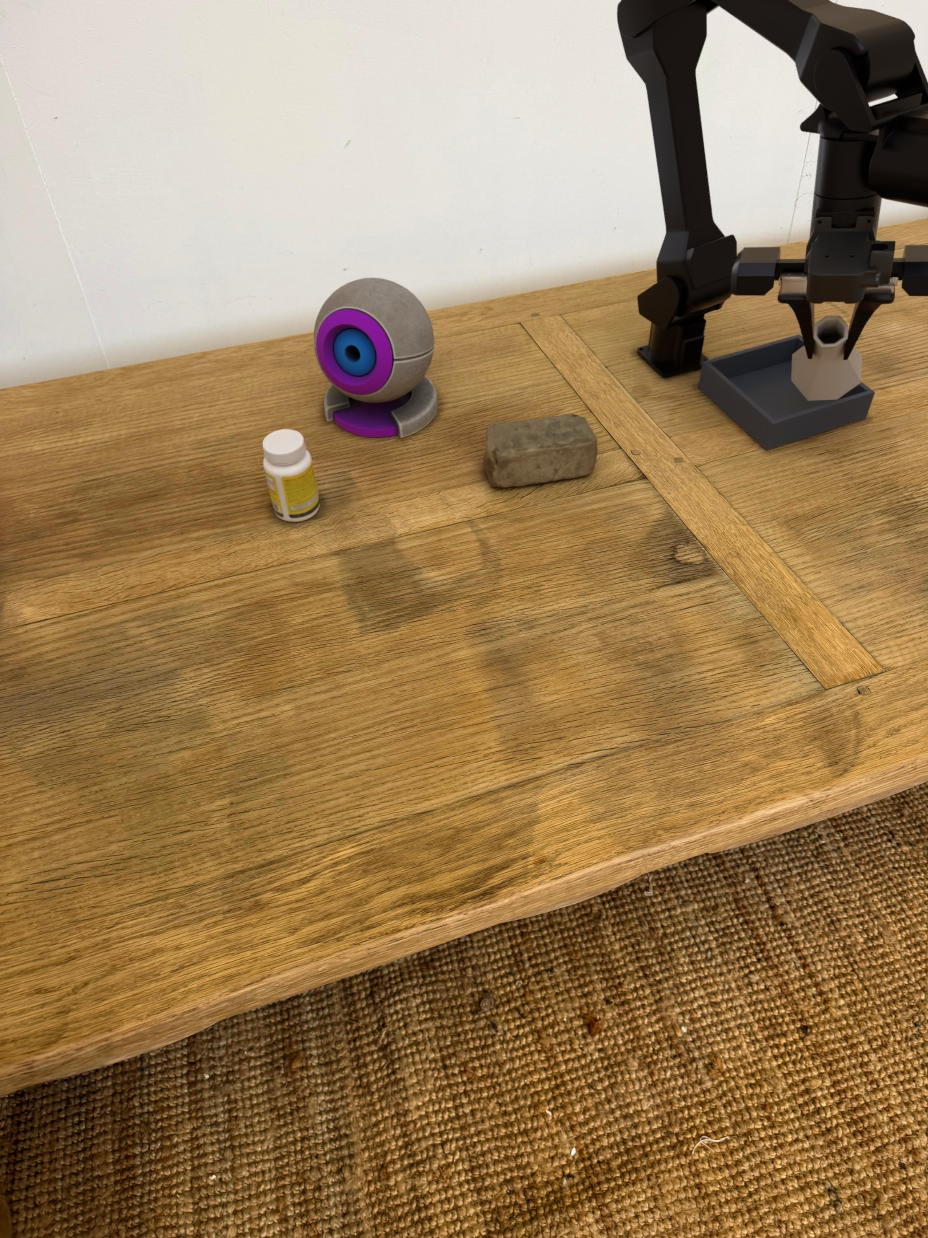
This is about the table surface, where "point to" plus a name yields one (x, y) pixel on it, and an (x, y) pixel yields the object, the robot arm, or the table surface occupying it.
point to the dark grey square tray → (776, 395)
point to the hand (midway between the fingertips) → (827, 357)
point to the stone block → (539, 450)
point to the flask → (827, 363)
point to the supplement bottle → (290, 476)
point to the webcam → (376, 359)
